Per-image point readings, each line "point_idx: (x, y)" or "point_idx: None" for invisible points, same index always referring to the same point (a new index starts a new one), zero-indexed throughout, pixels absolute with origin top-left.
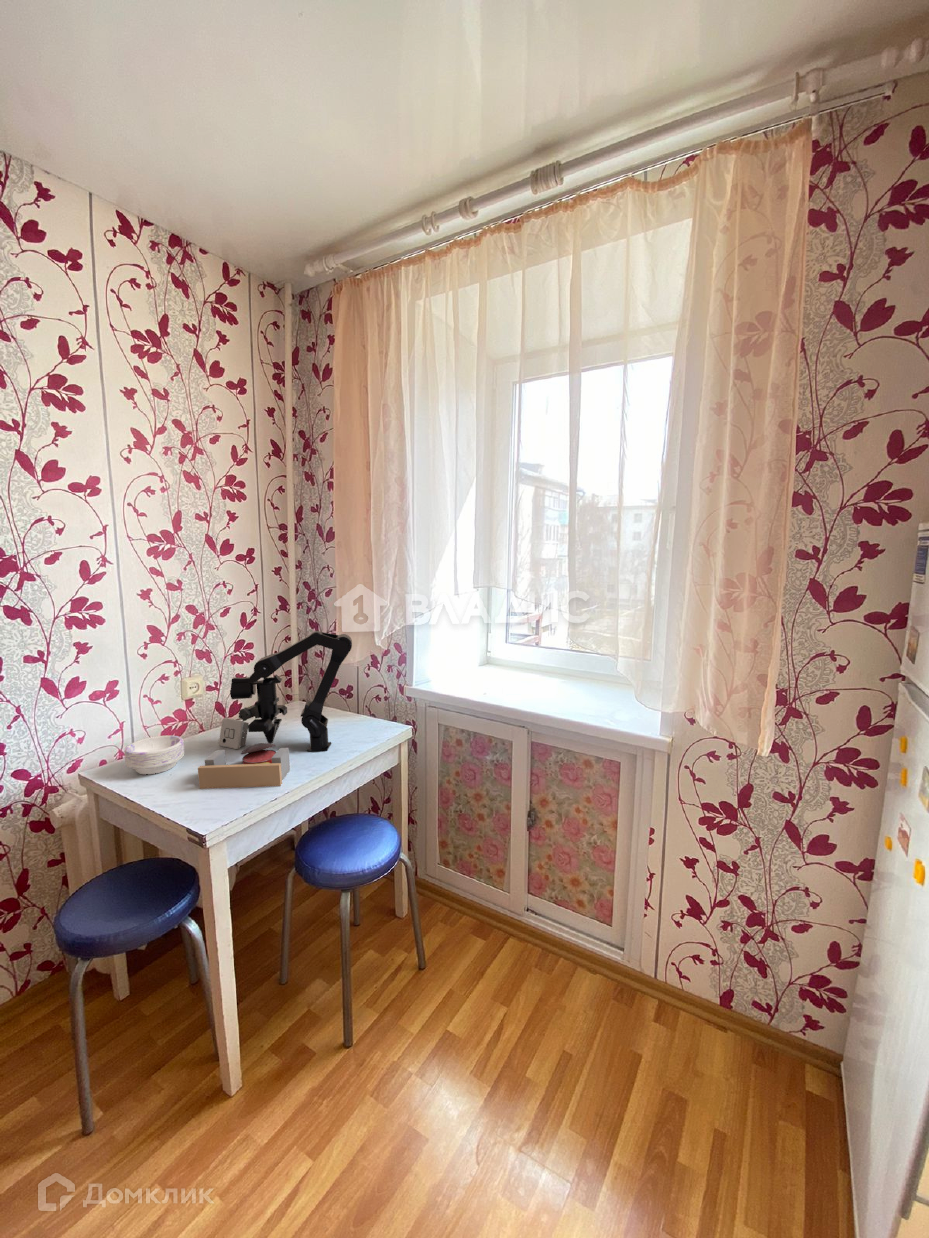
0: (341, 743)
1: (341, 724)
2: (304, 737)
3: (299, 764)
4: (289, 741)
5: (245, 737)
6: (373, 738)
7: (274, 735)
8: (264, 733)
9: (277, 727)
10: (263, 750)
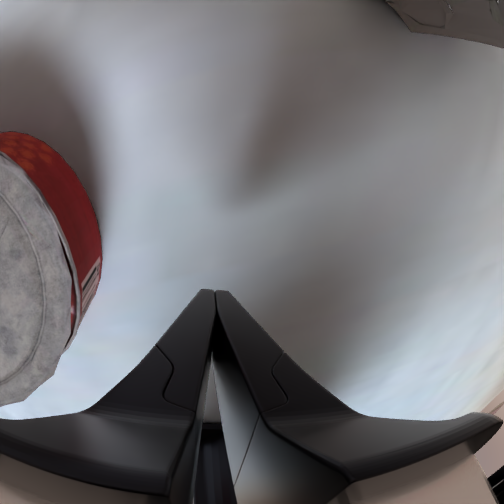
0: None
1: (442, 418)
2: (399, 367)
3: (54, 401)
4: (383, 320)
5: (458, 29)
6: None
7: (217, 396)
8: (136, 370)
9: (236, 489)
10: (73, 265)
